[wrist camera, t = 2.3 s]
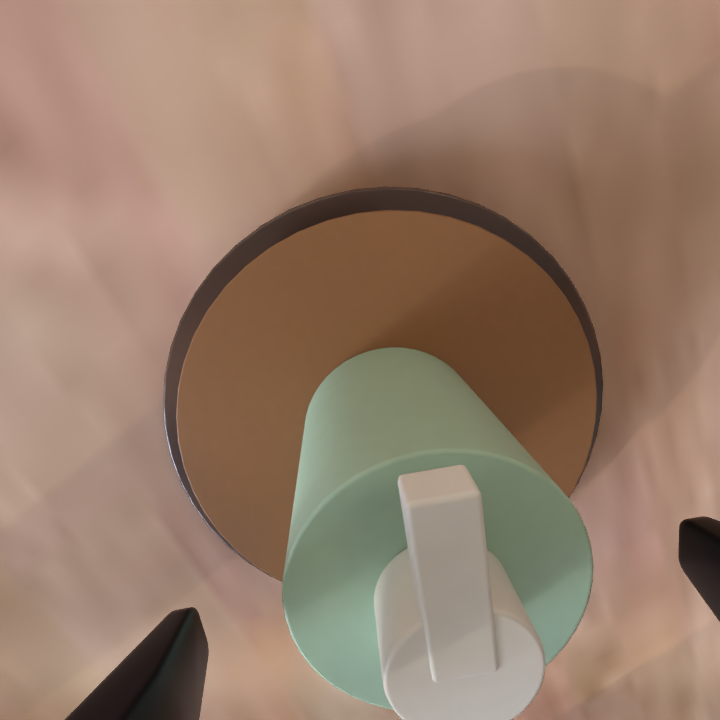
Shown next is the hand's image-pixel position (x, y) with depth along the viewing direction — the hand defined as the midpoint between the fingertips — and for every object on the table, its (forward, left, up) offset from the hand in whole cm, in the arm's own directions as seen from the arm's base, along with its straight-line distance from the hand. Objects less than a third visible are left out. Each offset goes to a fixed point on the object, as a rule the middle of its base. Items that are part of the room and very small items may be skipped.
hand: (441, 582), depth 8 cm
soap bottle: (0, 0, -8) cm, 8 cm away
